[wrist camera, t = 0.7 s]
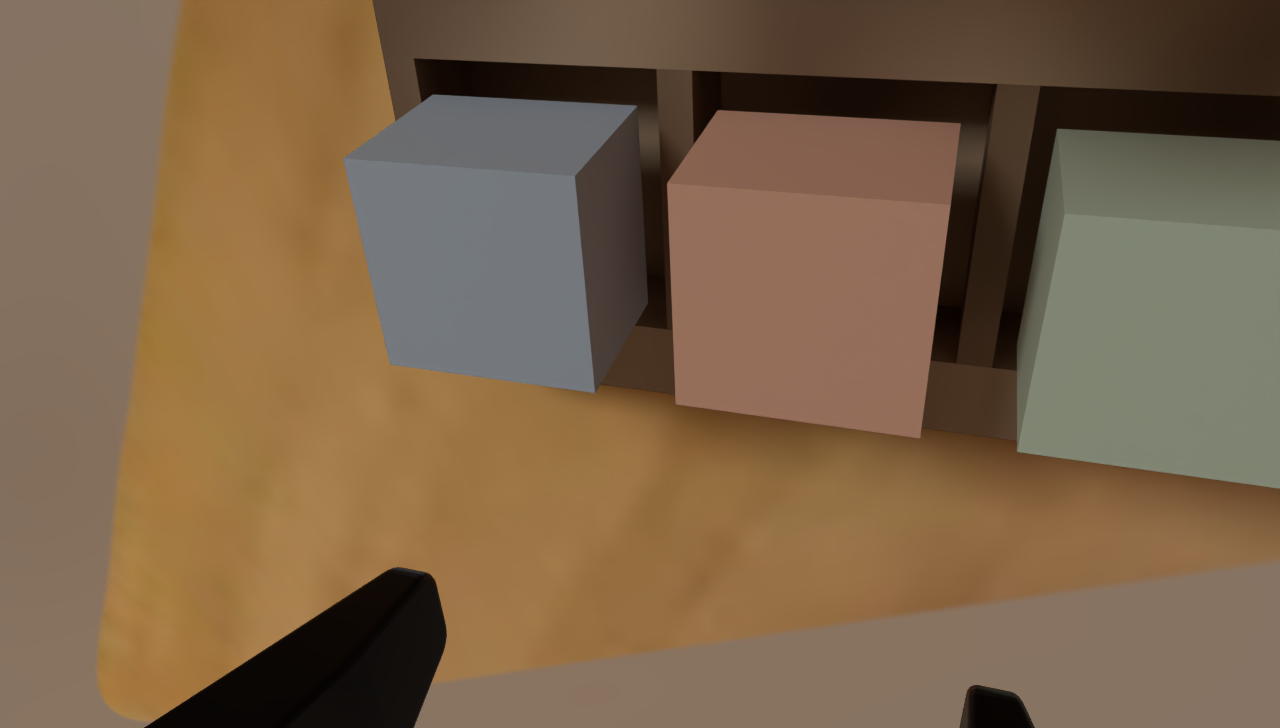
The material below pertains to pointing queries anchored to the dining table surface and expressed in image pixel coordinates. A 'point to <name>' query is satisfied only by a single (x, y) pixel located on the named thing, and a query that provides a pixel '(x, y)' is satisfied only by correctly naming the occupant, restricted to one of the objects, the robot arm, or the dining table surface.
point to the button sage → (1156, 307)
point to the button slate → (505, 237)
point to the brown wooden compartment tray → (868, 116)
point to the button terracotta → (810, 266)
